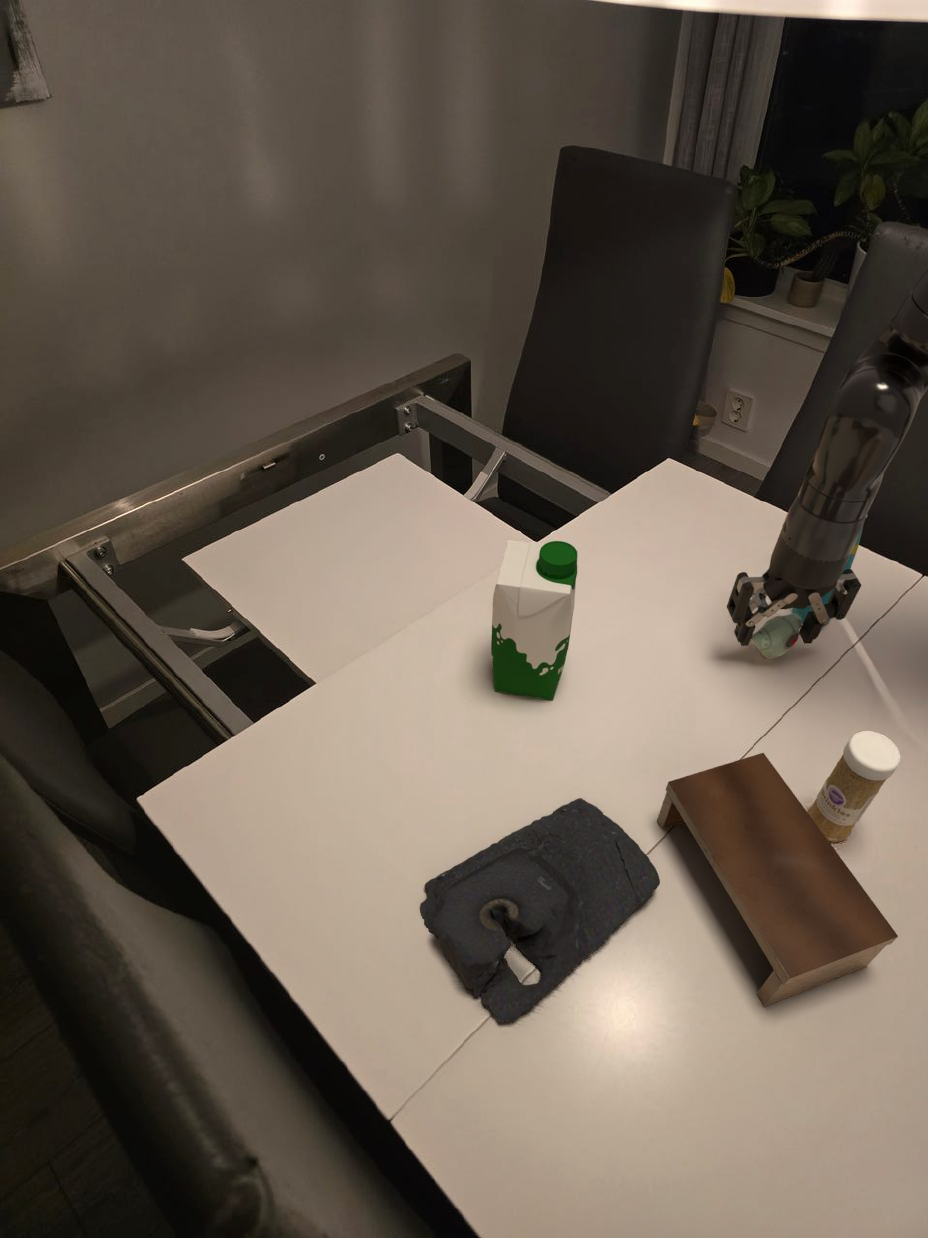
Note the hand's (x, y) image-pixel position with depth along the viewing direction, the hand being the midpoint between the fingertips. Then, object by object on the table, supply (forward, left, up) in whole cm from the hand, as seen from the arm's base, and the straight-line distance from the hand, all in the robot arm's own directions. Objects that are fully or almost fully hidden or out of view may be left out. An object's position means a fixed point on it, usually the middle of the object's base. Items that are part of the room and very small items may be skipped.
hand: (773, 639), depth 96 cm
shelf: (+11, +30, -3) cm, 32 cm away
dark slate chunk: (+32, +30, -3) cm, 44 cm away
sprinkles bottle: (+1, +24, -3) cm, 24 cm away
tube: (-9, -7, -3) cm, 11 cm away
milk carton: (+30, +1, -3) cm, 31 cm away
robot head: (-1, 0, -3) cm, 3 cm away
